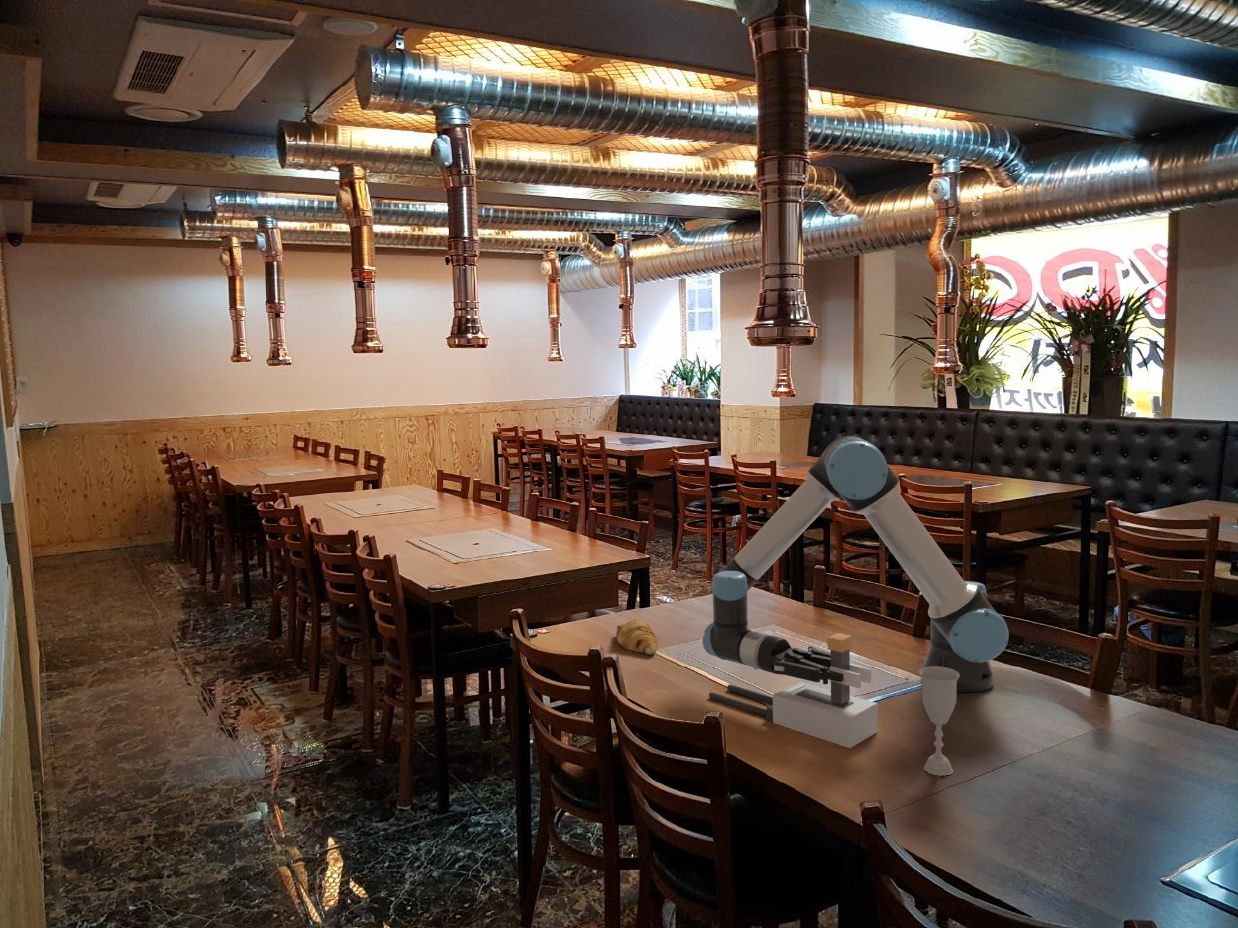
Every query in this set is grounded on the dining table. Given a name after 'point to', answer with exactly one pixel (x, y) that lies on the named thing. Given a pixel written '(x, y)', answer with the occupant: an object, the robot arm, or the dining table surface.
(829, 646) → the lever
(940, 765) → the chalice
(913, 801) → the dining table surface
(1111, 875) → the dining table surface
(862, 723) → the box
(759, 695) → the grey u-shaped fork
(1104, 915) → the dining table surface
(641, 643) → the croissant
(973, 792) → the dining table surface
